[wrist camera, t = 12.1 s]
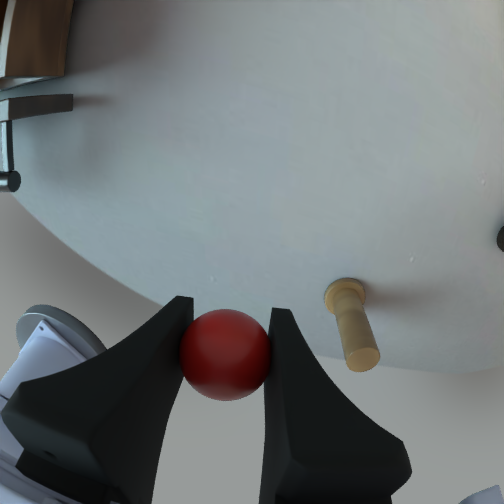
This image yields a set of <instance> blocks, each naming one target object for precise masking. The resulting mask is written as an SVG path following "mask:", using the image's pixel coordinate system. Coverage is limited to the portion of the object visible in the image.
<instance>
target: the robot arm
mask: <svg viewBox="0 0 504 504" xmlns="http://www.w3.org/2000/svg"><path fill="white" fill-rule="evenodd" d="M193 321H194V301H193V298H191V297H184V296H176V297H175V298H173V299H172V300H171V301H170V302H169V303H168V304H167V305H165V306H164V307H163V308H162V309H161V310H160V311H159V312H158V313H156V314H155V315H154V316H153V317H152V318H150V319H149V320H148V321H147V322H146V323H145V324H143V325H142V326H141V327H140V328H138V329H137V330H136V331H134V332H133V333H131V334H130V335H129V336H128V337H126V338H125V339H123V340H122V341H121V342H119V343H117V344H116V345H114V346H113V347H111V348H109V349H107V350H106V351H104V352H102V353H100V354H99V355H97V356H94V357H92V358H90V359H88V360H87V359H86V358H85V357H84V356H83V355H82V354H80V353H79V352H78V351H77V350H76V349H75V348H74V347H73V346H72V345H70V344H69V343H68V342H67V341H66V340H65V339H64V338H63V337H62V336H61V335H60V334H59V333H58V332H57V331H56V330H55V329H54V328H53V327H52V326H51V325H49V324H48V323H47V322H46V321H45V320H42V321H41V322H40V323H39V324H38V326H37V327H36V329H35V330H34V332H33V333H32V335H31V336H30V338H29V339H28V340H27V342H26V343H25V345H24V347H23V348H22V350H21V351H20V353H19V357H18V359H17V360H16V361H15V362H14V364H13V365H12V366H11V368H10V369H9V370H8V372H7V373H6V374H5V376H4V377H3V378H2V380H1V381H0V504H151V503H152V497H153V490H154V484H155V478H156V473H157V467H158V462H159V457H160V452H161V448H162V443H163V439H164V435H165V430H166V426H167V422H168V418H169V415H170V412H171V409H172V406H173V404H174V401H175V398H176V396H177V393H178V391H179V388H180V385H181V383H182V380H183V377H184V375H183V373H182V370H181V367H180V363H179V346H180V342H181V338H182V336H183V334H184V332H185V331H186V329H187V328H188V326H189V325H190V324H191V323H192V322H193ZM268 337H269V340H270V343H271V365H270V371H269V374H268V376H267V378H266V379H265V381H264V403H265V443H264V454H263V466H262V477H261V486H260V496H259V504H392V500H391V495H392V494H393V493H395V492H396V491H397V490H398V489H399V488H400V487H402V486H403V485H404V484H405V483H406V482H407V480H408V479H409V478H410V477H411V474H412V469H411V465H410V460H409V457H408V454H407V451H406V449H405V446H404V444H403V441H401V440H400V439H398V438H397V437H395V436H394V435H392V434H391V433H389V432H388V431H386V430H385V429H383V428H382V427H380V426H379V425H378V424H376V423H375V422H374V421H372V420H371V419H370V418H369V417H368V416H366V415H365V414H364V413H363V412H362V411H360V410H359V409H358V408H357V407H356V406H355V405H354V404H353V403H352V402H351V401H350V400H349V399H348V398H347V397H346V396H345V395H344V394H343V393H342V392H341V391H340V389H339V388H338V387H337V386H336V385H335V384H334V383H333V381H332V380H331V379H330V377H328V375H327V374H326V372H325V371H324V369H323V368H322V367H321V365H320V364H319V362H318V361H317V359H316V358H315V356H314V355H313V353H312V351H311V350H310V348H309V346H308V344H307V343H306V341H305V339H304V337H303V335H302V334H301V332H300V330H299V328H298V325H297V323H296V321H295V319H294V316H293V314H292V312H291V311H290V309H282V308H273V307H272V312H271V319H270V325H269V331H268ZM459 504H504V500H503V497H502V494H501V491H500V487H499V485H495V486H493V487H490V488H487V489H485V490H482V491H479V492H477V493H474V494H472V495H471V496H468V497H467V498H466V499H464V500H462V501H461V502H460V503H459Z"/></svg>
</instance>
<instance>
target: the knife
mask: <svg viewBox="0 0 504 504" xmlns="http://www.w3.org/2000/svg"><path fill="white" fill-rule="evenodd" d="M497 244H498V247H499V248H500V249H501V250H502V251H503V252H504V226H503V227H502V228H501V230H500V232H499V233H498V236H497Z"/></svg>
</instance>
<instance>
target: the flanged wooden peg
mask: <svg viewBox="0 0 504 504" xmlns="http://www.w3.org/2000/svg"><path fill="white" fill-rule="evenodd" d="M324 300H325V305H326V308H327V309H328V311H329V312H331V313H332V314H334V315H335V317H336V321H337V325H338V329H339V333H340V338H341V342H342V346H343V351H344V355H345V360H346V364H347V367H348V368H349V369H350V370H352V371H354V372H364V371H367V370H370V369H372V368H373V367H374V366H376V365H377V363H378V362H379V360H380V352H379V349H378V346H377V344H376V341H375V338H374V335H373V332H372V330H371V327H370V324H369V321H368V319H367V316H366V313H365V310H364V308H363V304H364V302H365V291H364V289H363V286H362V285H361V284H360V283H359V282H358V281H357V280H354V279H351V278H342V279H339V280H336V281H335V282H333V283H332V284H331V285H330V286H329V287H328V288H327V290H326V292H325V295H324Z"/></svg>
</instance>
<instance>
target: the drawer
mask: <svg viewBox="0 0 504 504" xmlns="http://www.w3.org/2000/svg"><path fill="white" fill-rule="evenodd" d="M73 3H74V0H0V91H4V90H7V89H11V88H15V87H18V86H22V85H26V84H30V83H35V82H39V81H44V80H48V79H53V78H58V77H63V76H64V69H65V58H66V49H67V41H68V33H69V26H70V20H71V14H72V8H73ZM72 110H73V94H55V95H39V96H26V97H16V98H8V99H4V100H1V101H0V122H1V136H2V157H3V170H4V171H0V192H15V191H17V190H18V189H19V187H20V184H21V177H20V174H19V173H18V172H17V171H12V170H14V159H13V138H12V120H15V119H20V118H26V117H32V116H38V115H45V114H52V113H60V112H68V111H72Z"/></svg>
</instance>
